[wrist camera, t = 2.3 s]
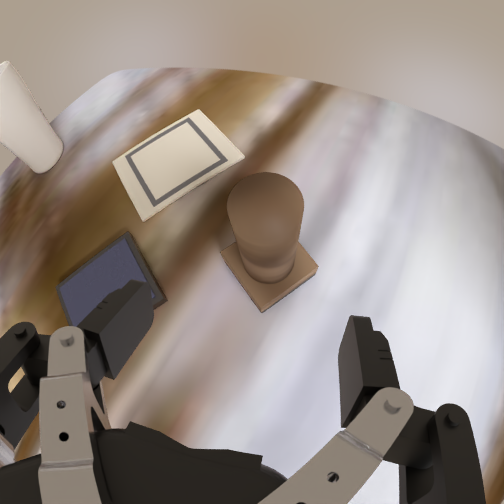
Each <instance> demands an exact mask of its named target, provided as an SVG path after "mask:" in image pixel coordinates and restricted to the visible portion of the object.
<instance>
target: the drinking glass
mask: <svg viewBox="0 0 504 504" xmlns="http://www.w3.org/2000/svg"><path fill="white" fill-rule="evenodd" d="M0 143H1V144H3V145H4V146H5V147H6V148H7V149H9V150H10V151H11V152H12V153H13V154H15V155H16V156H17V157H18V158H19V159H21V160H22V161H23V162H24V163H25V164H27V165H28V166H29V167H30V168H31V169H32V170H33V171H34V172H35V173H44V172H46V171H48V170H49V169H51V168H52V167H53V166H54V165H55V164H56V163H57V161H58V160H59V158H60V157H61V154H62V152H63V143H62V141H61V140H60V138H59V137H58V136H57V135H56V133H55V132H54V130H53V129H52V127H51V126H50V124H49V122H48V121H47V119H46V118H45V116H44V114H43V113H42V111H41V109H40V108H39V106H38V104H37V102H36V101H35V99H34V97H33V96H32V94H31V92H30V90H29V88H28V87H27V85H26V83H25V82H24V80H23V79H22V77H21V76H20V74H19V73H18V71H17V70H16V69H15V68H14V66H13V65H12V64H11V62H10V61H5V62H3V63H1V64H0Z"/></svg>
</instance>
